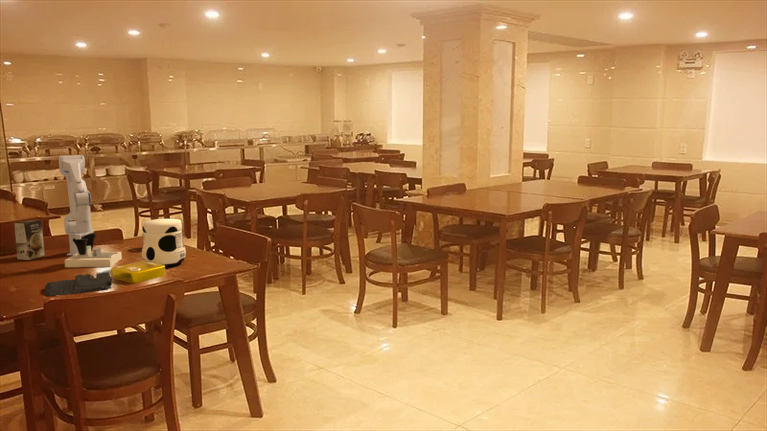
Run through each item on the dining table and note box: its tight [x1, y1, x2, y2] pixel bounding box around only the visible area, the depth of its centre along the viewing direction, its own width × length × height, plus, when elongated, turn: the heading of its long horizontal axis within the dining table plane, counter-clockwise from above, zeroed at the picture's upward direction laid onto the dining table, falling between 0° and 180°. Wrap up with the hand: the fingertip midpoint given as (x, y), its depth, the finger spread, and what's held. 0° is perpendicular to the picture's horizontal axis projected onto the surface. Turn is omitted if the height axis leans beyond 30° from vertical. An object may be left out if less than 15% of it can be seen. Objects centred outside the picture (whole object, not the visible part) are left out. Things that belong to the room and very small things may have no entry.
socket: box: [64, 251, 123, 268], centre depth 262 cm, size 14×18×4 cm
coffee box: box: [13, 219, 45, 261], centre depth 270 cm, size 9×6×16 cm
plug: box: [77, 246, 92, 257], centre depth 261 cm, size 4×4×7 cm
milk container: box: [141, 218, 187, 267], centre depth 259 cm, size 17×17×18 cm
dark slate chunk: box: [44, 271, 113, 297], centre depth 225 cm, size 15×22×5 cm
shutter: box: [92, 247, 115, 257], centre depth 262 cm, size 6×6×3 cm
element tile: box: [111, 260, 166, 284], centre depth 241 cm, size 15×15×5 cm
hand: (86, 252), depth 261 cm, fingers open, 7 cm apart
